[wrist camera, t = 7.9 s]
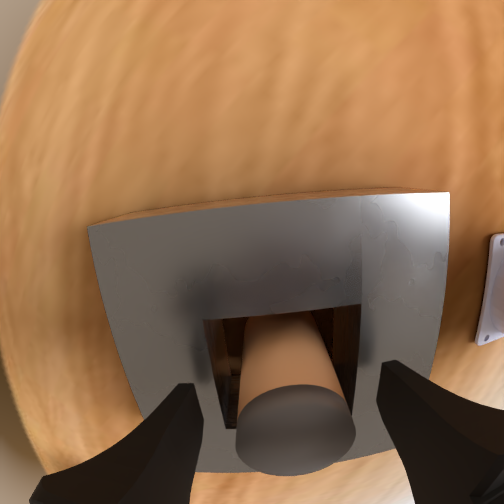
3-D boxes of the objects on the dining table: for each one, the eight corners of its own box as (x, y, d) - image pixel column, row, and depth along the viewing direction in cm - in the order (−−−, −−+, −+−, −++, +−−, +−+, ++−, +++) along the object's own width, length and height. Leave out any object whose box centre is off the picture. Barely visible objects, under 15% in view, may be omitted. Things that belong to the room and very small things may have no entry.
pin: (324, 305, 16) (373, 405, 8) (307, 366, 16) (333, 475, 9) (250, 295, 15) (244, 398, 8) (239, 358, 16) (228, 471, 9)
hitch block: (400, 187, 14) (449, 192, 10) (385, 400, 17) (408, 444, 13) (130, 212, 14) (86, 226, 10) (181, 421, 18) (168, 470, 13)
